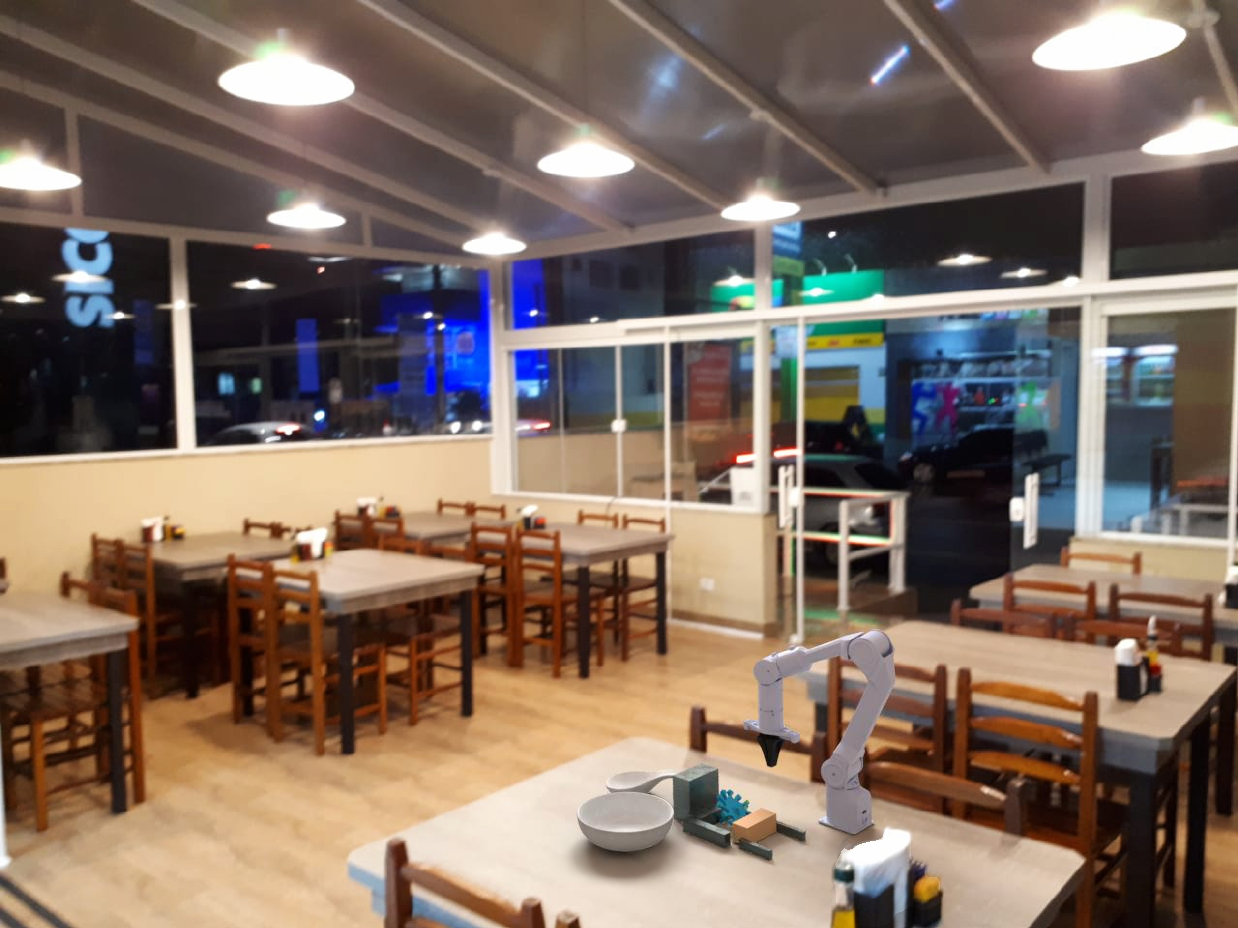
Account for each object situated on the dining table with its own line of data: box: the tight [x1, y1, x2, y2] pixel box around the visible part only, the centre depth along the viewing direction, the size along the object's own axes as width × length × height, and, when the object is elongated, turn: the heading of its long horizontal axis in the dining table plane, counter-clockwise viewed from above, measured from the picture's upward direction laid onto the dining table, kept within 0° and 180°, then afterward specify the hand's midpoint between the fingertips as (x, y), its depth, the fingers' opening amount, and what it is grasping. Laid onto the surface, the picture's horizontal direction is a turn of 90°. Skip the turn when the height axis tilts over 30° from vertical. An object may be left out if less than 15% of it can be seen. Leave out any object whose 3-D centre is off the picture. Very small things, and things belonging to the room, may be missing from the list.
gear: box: [716, 789, 753, 828], centre depth 212 cm, size 11×6×10 cm
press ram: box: [732, 807, 777, 844], centre depth 206 cm, size 4×10×4 cm, turn 134°
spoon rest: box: [605, 769, 682, 794], centre depth 228 cm, size 24×12×7 cm, turn 68°
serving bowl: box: [576, 792, 674, 852], centre depth 206 cm, size 21×21×7 cm
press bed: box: [672, 762, 807, 862], centre depth 208 cm, size 28×15×10 cm, turn 44°
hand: (771, 765), depth 221 cm, fingers closed
